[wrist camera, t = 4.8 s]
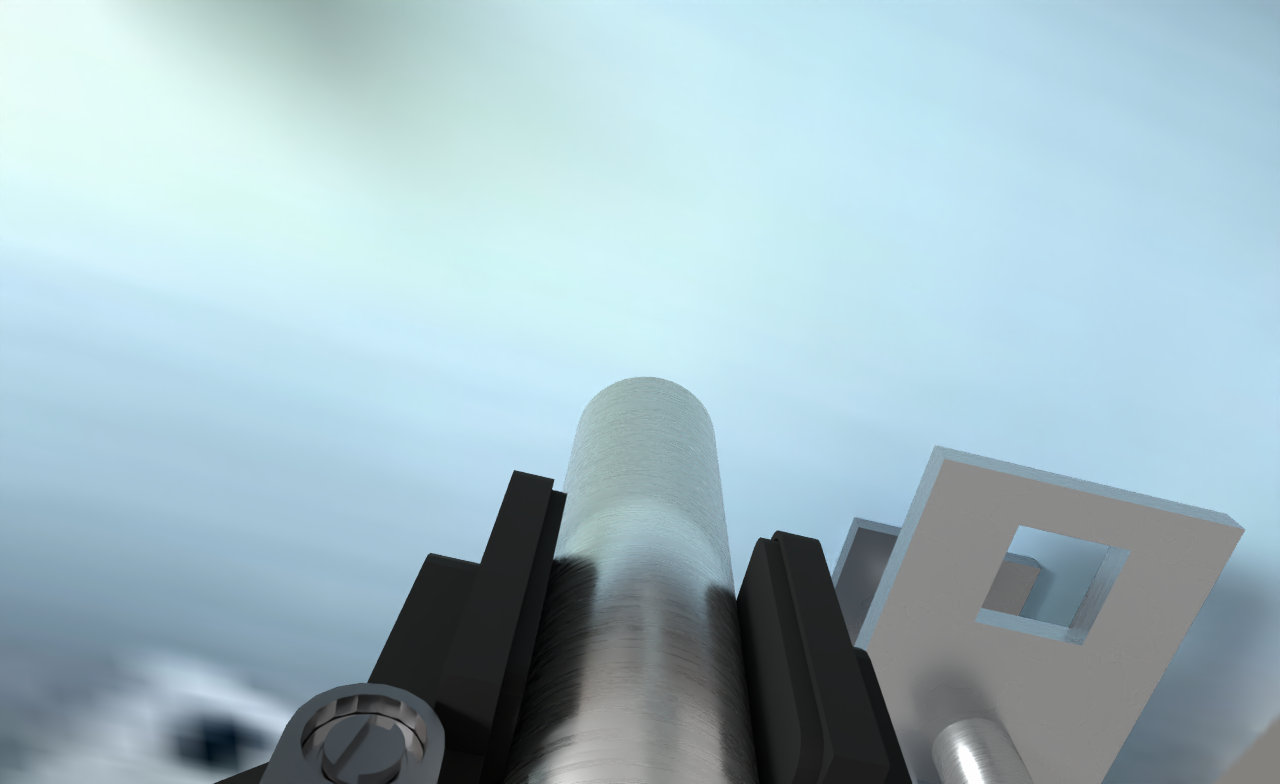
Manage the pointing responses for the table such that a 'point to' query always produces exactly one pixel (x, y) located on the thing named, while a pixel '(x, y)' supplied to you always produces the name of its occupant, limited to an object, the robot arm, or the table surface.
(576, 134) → the table surface
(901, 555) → the plate with square hole
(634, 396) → the pin
